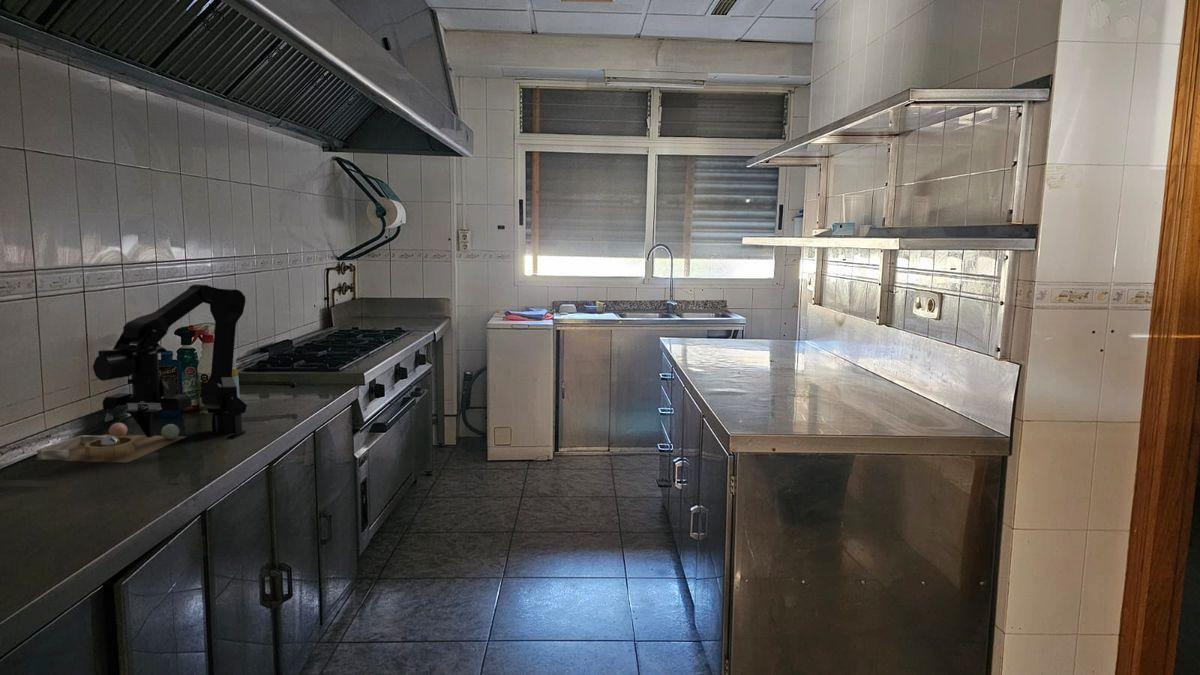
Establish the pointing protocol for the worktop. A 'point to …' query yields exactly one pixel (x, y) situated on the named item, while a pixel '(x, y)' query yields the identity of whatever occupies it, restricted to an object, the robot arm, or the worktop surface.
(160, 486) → the worktop surface
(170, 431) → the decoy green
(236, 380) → the bottle
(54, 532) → the worktop surface
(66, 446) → the board
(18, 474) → the worktop surface
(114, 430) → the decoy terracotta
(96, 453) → the race ring
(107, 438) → the steel ball
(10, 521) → the worktop surface
